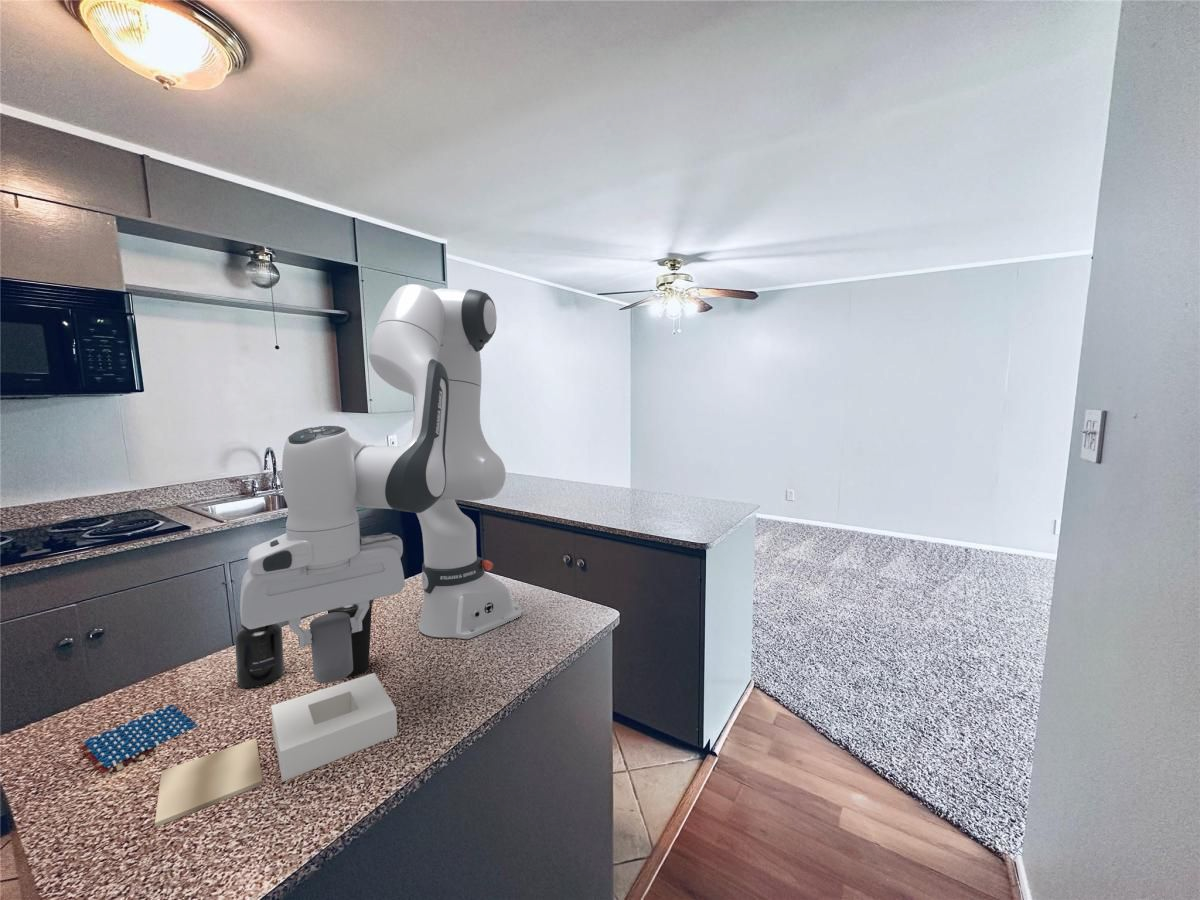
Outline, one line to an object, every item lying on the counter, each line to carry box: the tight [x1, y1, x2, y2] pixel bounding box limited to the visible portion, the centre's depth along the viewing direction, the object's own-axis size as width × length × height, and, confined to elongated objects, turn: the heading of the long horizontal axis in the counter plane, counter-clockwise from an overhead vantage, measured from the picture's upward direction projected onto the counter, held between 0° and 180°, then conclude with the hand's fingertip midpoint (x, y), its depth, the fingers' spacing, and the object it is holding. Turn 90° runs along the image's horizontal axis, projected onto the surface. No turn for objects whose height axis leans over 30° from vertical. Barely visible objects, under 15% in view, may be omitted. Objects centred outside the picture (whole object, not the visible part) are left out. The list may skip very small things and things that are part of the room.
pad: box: [154, 737, 263, 828], centre depth 62 cm, size 10×10×2 cm
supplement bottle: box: [234, 623, 285, 689], centre depth 86 cm, size 7×7×12 cm
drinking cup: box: [327, 599, 375, 678], centre depth 87 cm, size 8×8×20 cm
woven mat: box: [80, 703, 198, 778], centre depth 70 cm, size 10×11×2 cm
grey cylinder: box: [309, 612, 353, 684], centre depth 70 cm, size 5×5×8 cm
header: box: [270, 672, 398, 782], centre depth 71 cm, size 14×12×5 cm
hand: (331, 637), depth 70 cm, fingers closed on grey cylinder, 5 cm apart
